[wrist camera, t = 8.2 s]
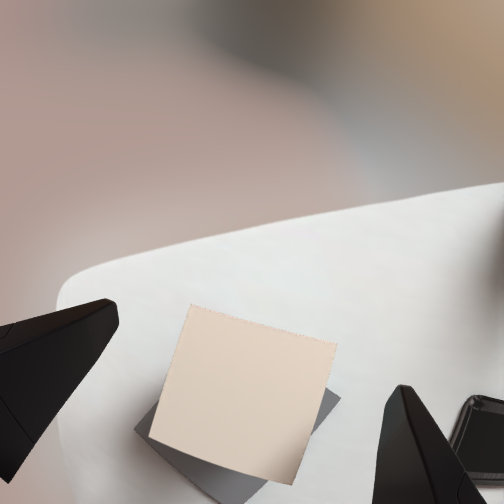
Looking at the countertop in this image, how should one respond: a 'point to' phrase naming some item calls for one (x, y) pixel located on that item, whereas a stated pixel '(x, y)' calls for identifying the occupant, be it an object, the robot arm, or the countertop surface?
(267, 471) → the tea tin
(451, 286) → the countertop surface
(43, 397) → the robot arm
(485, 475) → the phone
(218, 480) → the mat
